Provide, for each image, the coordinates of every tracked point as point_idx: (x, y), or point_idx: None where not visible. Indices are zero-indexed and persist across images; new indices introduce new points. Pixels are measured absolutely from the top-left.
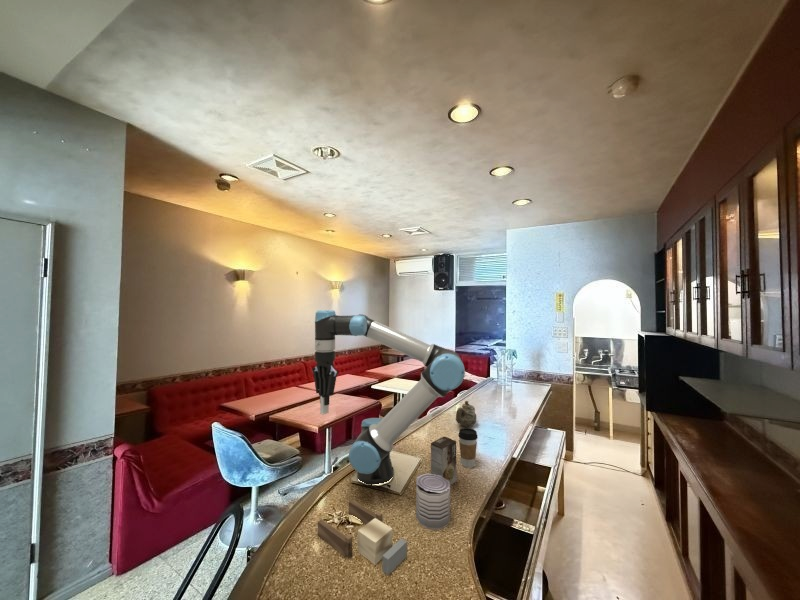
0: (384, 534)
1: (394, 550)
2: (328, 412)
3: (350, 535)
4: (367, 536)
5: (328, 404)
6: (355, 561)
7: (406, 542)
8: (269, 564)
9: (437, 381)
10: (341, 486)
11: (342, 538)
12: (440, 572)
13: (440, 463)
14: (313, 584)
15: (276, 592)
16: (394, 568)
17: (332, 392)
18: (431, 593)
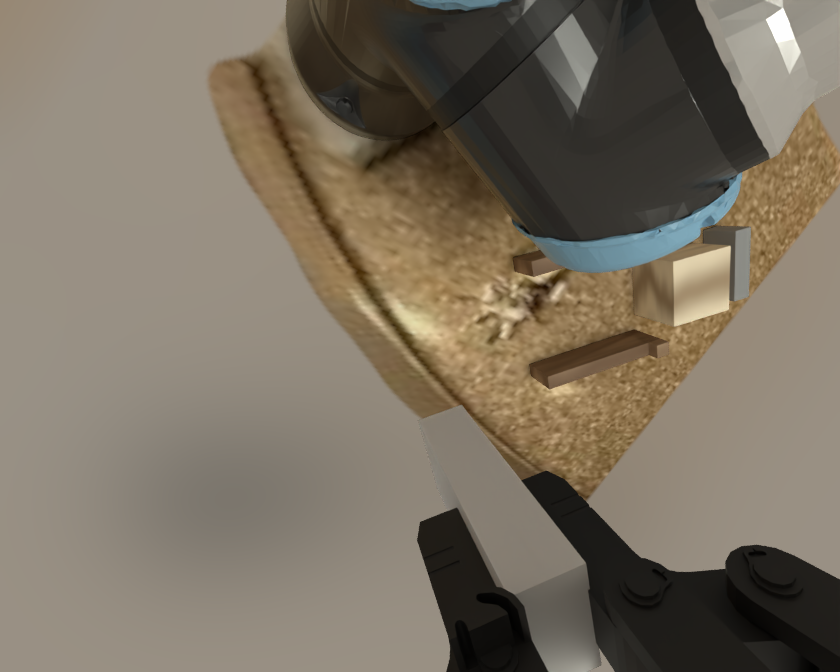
0: (728, 275)
1: (745, 270)
2: (463, 408)
3: (663, 344)
4: (703, 315)
5: (553, 482)
6: (649, 330)
7: (749, 228)
8: None
9: None
10: (362, 219)
11: (639, 356)
12: (786, 193)
13: None
14: (634, 418)
15: (604, 476)
16: None
17: (833, 609)
18: (792, 244)
